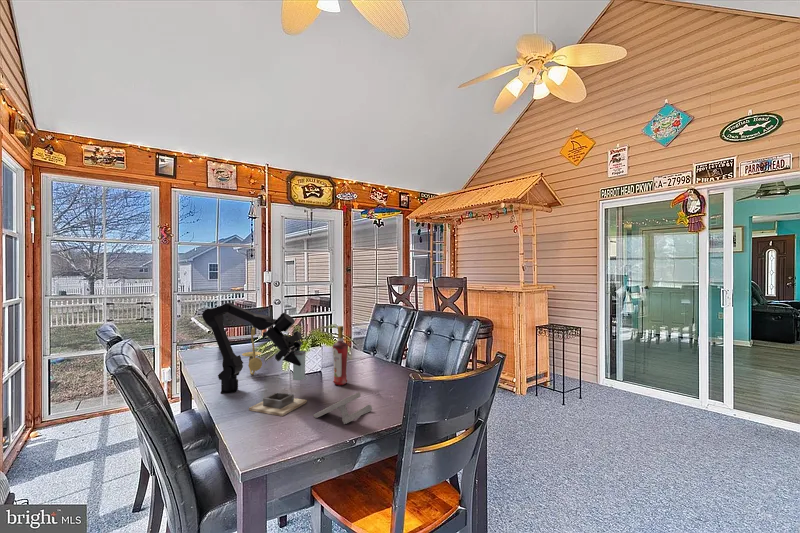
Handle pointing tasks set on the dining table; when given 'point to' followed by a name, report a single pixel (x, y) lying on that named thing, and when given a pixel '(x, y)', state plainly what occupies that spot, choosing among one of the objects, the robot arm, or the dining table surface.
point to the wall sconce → (253, 357)
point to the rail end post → (299, 370)
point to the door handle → (342, 407)
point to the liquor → (340, 359)
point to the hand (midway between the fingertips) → (302, 364)
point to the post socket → (278, 404)
